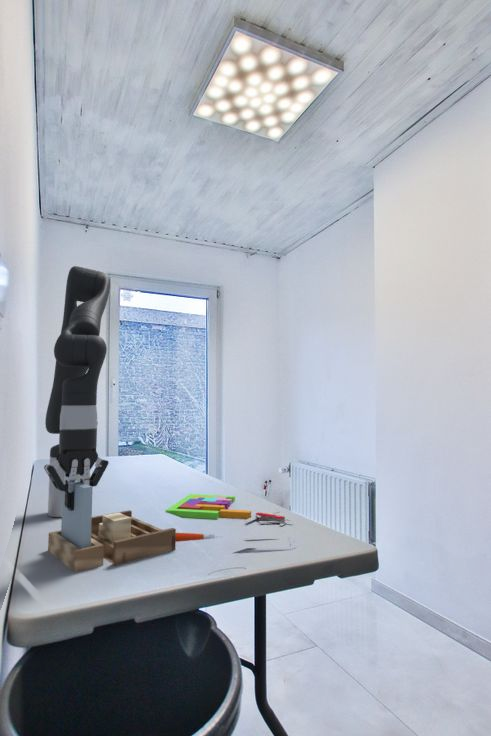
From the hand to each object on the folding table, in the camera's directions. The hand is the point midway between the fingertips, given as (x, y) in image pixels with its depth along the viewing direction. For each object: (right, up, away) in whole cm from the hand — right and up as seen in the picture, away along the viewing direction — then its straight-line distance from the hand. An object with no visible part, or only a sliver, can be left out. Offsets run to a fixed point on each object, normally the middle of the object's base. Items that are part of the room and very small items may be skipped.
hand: (76, 508), depth 91 cm
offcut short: (+7, -6, +6) cm, 11 cm away
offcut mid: (+6, -8, +7) cm, 12 cm away
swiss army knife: (+44, -14, +30) cm, 55 cm away
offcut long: (+6, -11, +6) cm, 14 cm away
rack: (+8, -12, +7) cm, 16 cm away
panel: (0, -9, -1) cm, 9 cm away
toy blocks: (+27, -15, +45) cm, 54 cm away
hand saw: (+32, -13, +10) cm, 36 cm away
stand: (0, -11, -1) cm, 11 cm away
